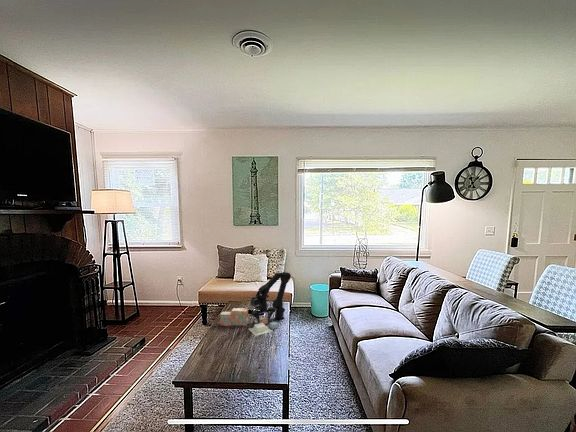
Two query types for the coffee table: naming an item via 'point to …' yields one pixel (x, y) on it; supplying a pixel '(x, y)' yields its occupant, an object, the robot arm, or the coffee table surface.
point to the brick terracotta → (263, 320)
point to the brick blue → (273, 325)
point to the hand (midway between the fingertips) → (263, 322)
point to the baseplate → (259, 332)
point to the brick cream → (259, 327)
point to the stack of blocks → (234, 317)
